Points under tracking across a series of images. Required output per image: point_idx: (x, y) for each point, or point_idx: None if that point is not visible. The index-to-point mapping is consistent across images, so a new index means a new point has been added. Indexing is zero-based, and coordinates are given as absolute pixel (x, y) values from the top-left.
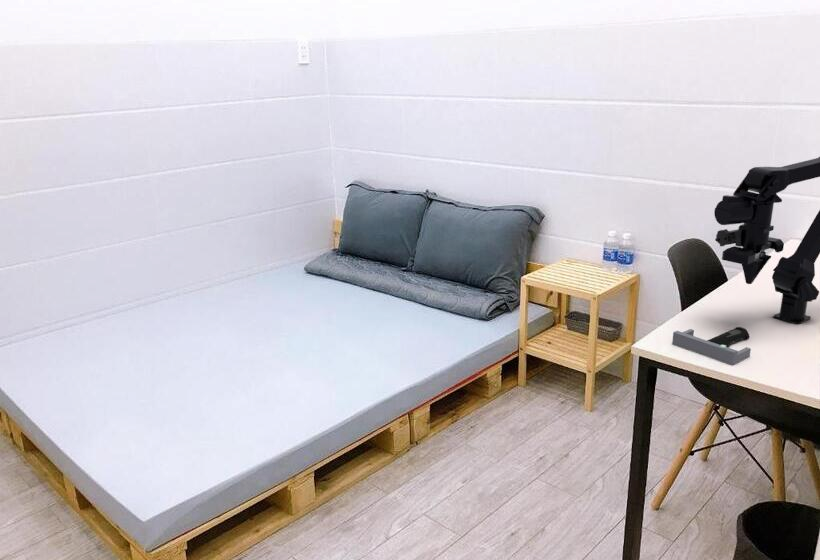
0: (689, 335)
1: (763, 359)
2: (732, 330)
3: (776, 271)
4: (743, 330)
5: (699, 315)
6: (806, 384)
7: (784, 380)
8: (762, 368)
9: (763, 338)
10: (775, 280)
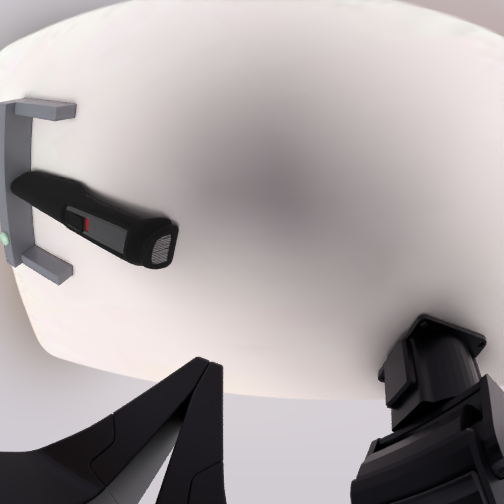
0: (2, 146)
1: (83, 300)
2: (119, 226)
3: (444, 486)
4: (128, 261)
5: (301, 40)
6: (63, 353)
7: (49, 327)
8: (53, 298)
9: (198, 299)
10: (442, 439)
